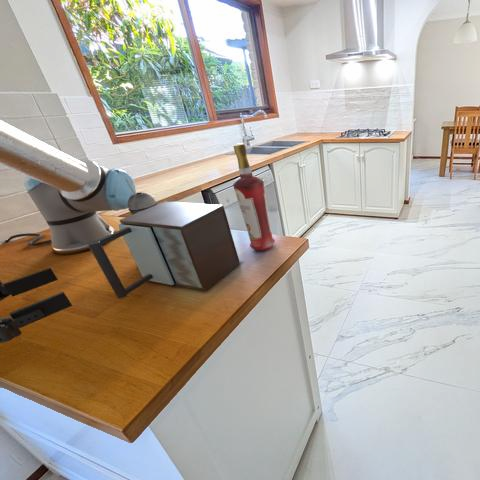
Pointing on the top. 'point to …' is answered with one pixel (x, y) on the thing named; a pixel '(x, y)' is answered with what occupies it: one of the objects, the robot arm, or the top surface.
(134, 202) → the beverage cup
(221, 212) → the cabinet
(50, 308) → the robot arm
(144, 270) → the glass door
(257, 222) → the liquor
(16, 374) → the top surface
